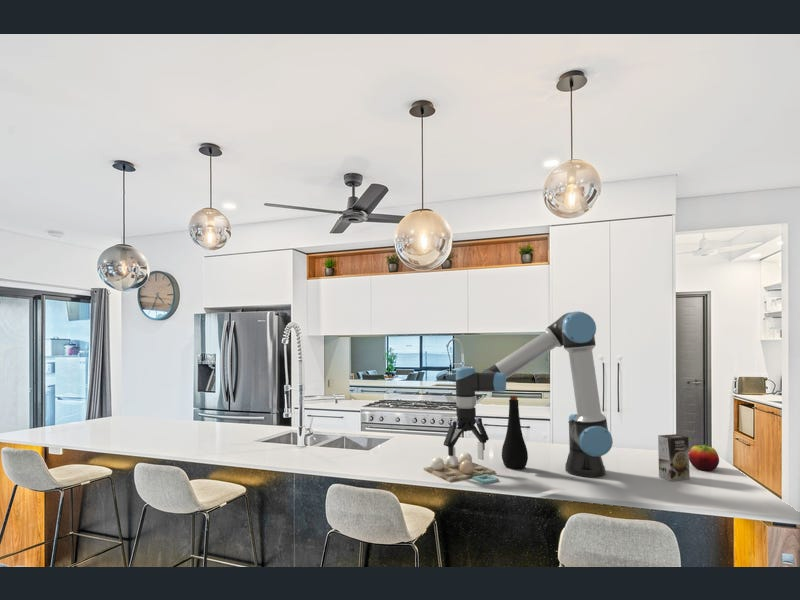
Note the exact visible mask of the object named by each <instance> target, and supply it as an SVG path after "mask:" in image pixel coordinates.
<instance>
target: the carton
mask: <svg viewBox="0 0 800 600" xmlns="http://www.w3.org/2000/svg"><path fill="white" fill-rule="evenodd" d="M472 464H473V466H474V470H473V472H472V473H471V474H467V475H465V474H463V473H461V471H460V462H459V461H458V466H457V467H455V468H449V467H447V466H446V464H445V463H444V468H443V469H442V470H438V471H435V470H433V469H432V467H431V466H427V467H423V471H425V472H427V473H429V474H431V475H433V476H436V477H437V478H440V479H442V480H443V481H446V482H448V483H452V482H458V481H463V480H468V479H472V477H474V476H479V475H485V474H488V475H495V474H496V471H495V470H494V469H491V468H489V467H486V466H483V465H481V464H478V463H475V462H473V461H472Z"/></svg>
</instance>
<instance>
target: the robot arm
mask: <svg viewBox="0 0 800 600" xmlns="http://www.w3.org/2000/svg"><path fill="white" fill-rule="evenodd" d="M596 332H597V325H596V322H595V320H594V318H592V316H591V315H590V314H588V313H586V312H583V311H571V312H566V313H565V314H563V315H561V316H560V317H559V318H558V319H557V320H555V321H554V322H553V323H551V324H550V325H549V326H547V327H546V328H545V331H544V332H543V333H541V334H539V335H538V336H536V337H534V338H533V339H531V340H530V341H529V342H527V343H526V344H524V345H522V346H520V348H517V349H516V350H514V351H513V352H512V353H510V354H508V355H507V356H506V357H505V356H504V357H503V358H502V359H501V360H499V361H498V362H496V363H495V364H494V365H492V366H490V367H488V368H486V369H484V370H483V371H481V372H477V371H476V369H475V367H471V366H463V367H457V368H456V370H455V395H456V397H455V401H456V414H455V415H456V419H457V420H453V419H452V420H450V422H449V428H448V430H447V433H446V436H445V439H444V441H443V446H445V447H447V450H448V451H447V453H448V455H449V456H450V464H452V465H456V457H457V455H456V447H455V445H456V444H457V442H458V440H459V439H460V437H461V435H462V434H463V433H464V432H466V433H467V432H472V433H473V435H474V436H475V437H476V438H477V440H478V441H477V459H479V460H481V461H484V457H485V456H484V452H485V448H486V446H485V445H486V443H487V441H489V436H488V434H487V431H486V429H485V427H484V424H483V419H482V417H478V416H476V411H477V410H476V405H477V403H476V393H477V392H482V393H483V392H484V393H486V392H487V393H502V392H506V389H507V379H508V378H510V377H511V376H513V375H514V374H516V373H518V372H519V371H521V370H522V369H524V368H526V367H527V366H529V365H530V364H532V363H533V362H535V361H536V360H538V359H539V358H541V357H542V356H544V355H546V354H547V353H549V352H551V351H553V349H555V348H561V347H563V349H564V350H565V351H566V352H568V357H569V365H570V372H571V373H570V374H571V380H572V386H573V392H574V399H575V407H576V414H575V413H574V414H573V413H572V414H570V415H569V416H568V421H567V422H568V435H569V436H568V437H569V438H568V439H569V440H568V442H569V444H568V445H569V453H568V455H567V459H566V462H565V469H564V470H565V472H567V473H568V474H570V475H574V476H578V477H584V478H585V477H586V478H597V477H598V478H599V477H603V476H605V475H606V467H605V465H604V461H603V458H602V457H603V456H604V455H606V454H608V453H609V452H610V451H611V449H612V446H613V443H614V442H613V436H612V433H611V432H610V431H609V429H608V428H609V427H608V422H607V417H606V416H605V415H604V414H603V413H602V410H601V403H600V396H599V389H598V382H597V374H596V367H595V360H594V355H593V349H594V348H595V347H596V338H595V335H596ZM476 426H477V427H476ZM448 455H447V456H448Z"/></svg>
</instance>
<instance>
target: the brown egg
mask: <svg viewBox="0 0 800 600" xmlns="http://www.w3.org/2000/svg"><path fill="white" fill-rule="evenodd" d="M473 470H474V466H473V464H472V463H471V462H470V461H468V460H465V461H463V462H461V464H460V471H461V473H463V474H465V475H467V474H471V473H472V472H473Z"/></svg>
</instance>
